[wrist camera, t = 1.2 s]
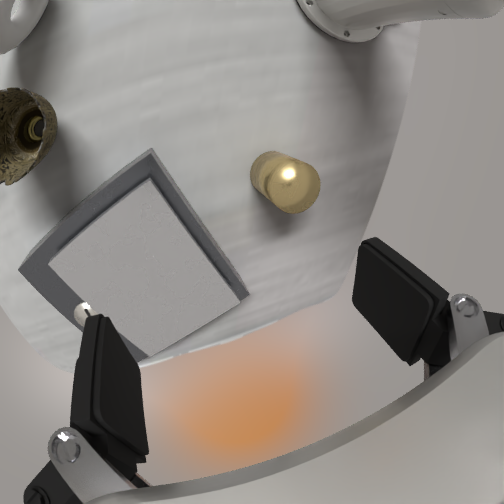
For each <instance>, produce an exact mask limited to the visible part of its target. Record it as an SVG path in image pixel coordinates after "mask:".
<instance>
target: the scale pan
mask: <svg viewBox="0 0 504 504" xmlns="http://www.w3.org/2000/svg"><path fill="white" fill-rule="evenodd" d="M48 265H49V266H50V267H51V268H52V269H53V270H54V271H55V272H56V273H57V274H58V276H59V277H60V278H61V279H62V280H63V281H64V282H65V283H66V284H67V285H68V286H69V287H70V288H71V289H72V290H73V291H74V292H75V293H76V294H77V295H78V296H79V297H80V298H81V299H82V300H83V301H85V302H86V303H87V304H88V305H89V306H90V307H91V308H92V309H93V310H94V311H95V312H96V313H98V314H103V315H104V317H109V318H110V320H111V321H112V323H113V325H114V327H115V328H116V330H117V331H118V332H119V333H121V334H122V335H123V336H124V337H125V338H127V339H128V340H129V341H130V342H132V343H133V344H134V345H135V346H137V347H138V348H139V349H141V350H142V351H143V352H144V353H146V354H147V355H148V356H150V357H151V356H153V355H154V354H156V353H158V352H160V351H161V350H163V349H165V348H167V347H168V346H170V345H172V344H173V343H175V342H177V341H178V340H180V339H182V338H183V337H185V336H187V335H189V334H190V333H192V332H194V331H195V330H197V329H199V328H200V327H202V326H203V325H205V324H207V323H208V322H210V321H212V320H213V319H215V318H217V317H218V316H220V315H221V314H223V313H225V312H226V311H228V310H230V309H231V308H233V307H234V306H236V305H238V304H239V303H241V302H240V300H239V297H238V296H237V295H236V293H235V292H234V291H233V289H232V288H231V287H230V285H229V284H228V283H227V282H226V280H225V279H224V278H223V276H222V275H221V274H220V272H219V271H218V270H217V268H216V267H215V266H214V265H213V263H212V262H211V261H210V259H209V258H208V257H207V255H206V254H205V253H204V251H203V250H202V249H201V247H200V246H199V244H198V243H197V242H196V240H195V239H194V238H193V236H192V235H191V234H190V232H189V231H188V230H187V228H186V227H185V225H184V224H183V223H182V221H181V220H180V219H179V217H178V216H177V214H176V213H175V212H174V210H173V209H172V207H171V206H170V205H169V203H168V202H167V200H166V199H165V198H164V196H163V195H162V193H161V192H160V191H159V189H158V188H157V186H156V185H155V183H154V182H153V181H152V179H151V178H148V179H147V180H145V181H144V182H143V183H141V184H140V185H138V186H137V187H136V188H134V189H133V190H132V191H130V192H129V193H128V194H126V195H125V196H124V197H122V198H121V199H120V200H118V201H117V202H116V203H115V204H113V205H112V206H111V207H109V208H108V209H107V210H106V211H104V212H103V213H102V214H101V215H100V216H98V217H97V218H96V219H95V220H94V221H92V222H91V223H90V224H89V225H88V226H86V227H85V228H84V229H83V230H82V231H81V232H79V233H78V234H77V235H76V236H75V237H74V238H73V239H71V240H70V241H69V242H68V243H67V244H66V245H65V246H64V247H63V248H62V249H61V250H59V251H58V252H57V253H56V254H55V255H54V256H53V257H52V258H51V259H50V261H49V263H48Z"/></svg>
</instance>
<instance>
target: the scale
mask: <svg viewBox="0 0 504 504" xmlns="http://www.w3.org/2000/svg"><path fill="white" fill-rule="evenodd" d="M148 178H151V179H152V181H153V182H154V183H155V185H156V186H157V188H158V189H159V191H160V192H161V193H162V195H163V196H164V198H165V199H166V200H167V202H168V203H169V205H170V206H171V207H172V209H173V210H174V212H175V213H176V214H177V216H178V217H179V219H180V220H181V221H182V223H183V224H184V225H185V227H186V228H187V230H188V231H189V232H190V234H191V235H192V236H193V238H194V239H195V240H196V242H197V243H198V244H199V246H200V247H201V249H202V250H203V251H204V253H205V254H206V255H207V257H208V258H209V259H210V261H211V262H212V263H213V265H214V266H215V267H216V268H217V270H218V271H219V272H220V274H221V275H222V276H223V278H224V279H225V280H226V282H227V283H228V284H229V285H230V287H231V288H232V289H233V291H234V292H235V293H236V295H237V296H238V297H239V300H242V299H244V298H245V297H247V296H248V295H250V294H249V292H248V291H247V289H246V287H245V285H244V283H243V281H242V279H241V277H240V275H239V274H238V273H237V271H236V270H235V268H234V267H233V265H232V264H231V263H230V261H229V260H228V258H227V257H226V256H225V254H224V253H223V251H222V250H221V248H220V247H219V246H218V244H217V243H216V241H215V240H214V238H213V237H212V236H211V234H210V233H209V231H208V230H207V228H206V227H205V226H204V224H203V223H202V221H201V220H200V218H199V217H198V215H197V214H196V212H195V211H194V210H193V208H192V207H191V205H190V204H189V202H188V201H187V199H186V198H185V196H184V195H183V193H182V192H181V191H180V189H179V188H178V186H177V185H176V183H175V182H174V180H173V179H172V177H171V176H170V174H169V173H168V171H167V170H166V168H165V167H164V165H163V164H162V162H161V161H160V159H159V158H158V156H157V155H156V153H155V152H154V150H153V149H152V148H150V149H149V150H147V151H146V152H145V153H143V154H142V155H140V156H139V157H137V158H136V159H135V160H133V161H132V162H131V163H129V164H128V165H127V166H125V167H124V168H123V169H121V170H120V171H119V172H117V173H116V174H115V175H113V176H112V177H111V178H110V179H108V180H107V181H106V182H105V183H103V184H102V185H101V186H100V187H98V188H97V189H96V190H95V191H94V192H92V193H91V194H90V195H89V196H88V197H86V198H85V199H84V200H83V201H82V202H81V203H79V204H78V205H77V206H76V207H75V208H74V209H73V210H72V211H71V212H69V213H68V214H67V215H66V216H65V217H64V218H63V219H62V220H61V221H60V222H59V223H58V224H57V225H56V226H55V227H53V228H52V229H51V230H50V231H49V232H48V233H47V234H46V235H45V236H44V237H43V238H42V239H41V240H40V242H39V243H38V244H37V245H36V246H35V247H34V248H33V249H32V250H31V251H30V252H29V254H28V255H27V257H26V258H25V260H24V261H23V263H22V264H21V266H20V267H19V269H18V270H19V272H20V273H21V274H22V275H23V276H24V277H25V278H26V279H27V280H28V281H29V282H30V283H31V285H32V286H33V287H34V288H35V289H36V290H37V291H38V292H39V293H40V294H41V295H42V296H43V297H44V298H45V299H46V300H47V301H48V302H49V303H51V304H52V305H53V306H54V307H55V308H56V309H57V310H58V311H59V312H60V313H61V314H62V315H63V316H65V317H66V318H67V319H68V320H69V321H70V322H71V323H72V324H74V325H75V326H76V327H77V328H78V329H79V330H81V331H82V332H83V330H84V325H85V320H86V318H87V317H89V316H93V315H97V314H98V313H96V312H95V311H94V310H93V309H92V308H91V307H90V306H89V305H88V304H87V303H86V302H85V301H83V300H82V299H81V298H80V297H79V296H78V295H77V294H76V293H75V292H74V291H73V290H72V289H71V288H70V287H69V286H68V285H67V284H66V283H65V282H64V281H63V280H62V279H61V278H60V277H59V276H58V274H57V273H56V272H55V271H54V270H53V269H52V268H51V267H50V266H49V265H48V263H49V261H50V259H51V258H52V257H53V256H54V255H55V254H56V253H57V252H58V251H59V250H61V249H62V248H63V247H64V246H65V245H66V244H67V243H68V242H69V241H70V240H71V239H73V238H74V237H75V236H76V235H77V234H78V233H79V232H81V231H82V230H83V229H84V228H85V227H86V226H88V225H89V224H90V223H91V222H92V221H94V220H95V219H96V218H97V217H98V216H100V215H101V214H102V213H103V212H104V211H106V210H107V209H108V208H109V207H111V206H112V205H113V204H115V203H116V202H117V201H118V200H120V199H121V198H122V197H124V196H125V195H126V194H128V193H129V192H130V191H132V190H133V189H134V188H136V187H137V186H138V185H140V184H141V183H143V182H144V181H145V180H147V179H148ZM117 332H118V331H117ZM118 334H119V335H120V337H121V339H122V340H123V342H124V344H125V345H126V347H127V348H128V350H129V352H130V353H131V355H132V356H133V358H134V359H135V361H136V363H137V362H139V361H141V360H142V359H144V358H146V357H148V355H147V354H146V353H144V352H143V351H142V350H141V349H139V348H138V347H137V346H135V345H134V344H133V343H132V342H130V341H129V340H128V339H127V338H125V337H124V336H123V335H122V334H121V333H119V332H118Z"/></svg>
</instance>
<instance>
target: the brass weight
mask: <svg viewBox="0 0 504 504" xmlns="http://www.w3.org/2000/svg"><path fill="white" fill-rule="evenodd" d="M250 178H251V182H252V184H253V186H254V187H255V188H256V189H257V190H258V191H259V192H260V193H261V194H263V195H264V196H265V197H266V198H268V199H269V200H270V201H271V202H272V203H274V204H275V205H276V206H277V207H278V208H279V209H281V210H282V211H284V212H286V213H291V214H295V213H300V212H303V211H305V210H307V209H308V208H309V207H310V206H312V204H313V203H314V202H315V201H316V199H317V197H318V195H319V191H320V178H319V175H318V173H317V171H316V170H315V169H314V168H313V167H312V166H311V165H309V164H307V163H305V162H302V161H300V160H297V159H295V158H292V157H290V156H287V155H285V154H282V153H279V152H276V151H270V152H266V153H263V154H262V155H260V156H259V157H258V158H257V159H256V160H255V161H254V163H253V165H252V167H251V171H250Z"/></svg>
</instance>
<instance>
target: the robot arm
mask: <svg viewBox="0 0 504 504" xmlns="http://www.w3.org/2000/svg"><path fill="white" fill-rule="evenodd" d="M297 1H298V3H299V5H300V7H301V9H302V10H303V11H304V13H305V14H306V15H307V17H308V18H309V19H310V20H311V21H312V22H313V23H314V24H315V25H316V26H318V27H319V28H320V29H321V30H322V31H324V32H326V33H327V34H329V35H330V36H332V37H335V38H337V39H339V40H342V41H346V42H354V43H357V42H365V41H368V40H371V39H373V38H375V37H376V36H377V35H378V34H379V33H380V32H381V30H382V29H383V27H384V26H385V25H391V24H397V23H405V22H413V21H423V20H436V19H469V18H470V19H483V18H488V17H492V16H494V15H496V14H497V13H498V12H500V10H501V9H502V8H503V7H504V0H297ZM448 296H449V293H448V292H447V291H446V290H444V289H443V288H442V287H441V286H440V285H438V284H437V283H436V282H435V281H433V280H432V279H431V278H430V277H428V276H427V275H426V274H425V273H423V272H422V271H421V270H420V269H418V268H417V267H416V266H415V265H413V264H412V263H411V262H409V261H408V260H407V259H405V258H404V257H403V256H402V255H400V254H399V253H398V252H396V251H395V250H393V249H392V248H391V247H390V246H388V245H387V244H385V243H384V242H383V241H381V240H380V239H378V238H377V237H374V238H370V239H367V240H364V241H362V243H361V246H359V249H358V257H357V266H356V274H355V282H354V289H353V295H352V302H353V304H354V306H355V307H356V309H357V310H358V311H359V312H360V313H361V314H362V315H363V316H364V318H365V319H366V320H367V321H368V322H369V323H370V324H371V325H372V326H373V328H374V329H375V330H376V331H377V332H378V333H379V334H380V336H381V337H382V338H383V339H384V340H385V341H386V342H387V344H388V345H389V346H390V347H391V348H392V349H393V351H394V352H395V353H396V354H397V355H398V356H399V358H400V359H401V360H403V361H406V362H407V363H408V364H409V366H411V365H413V364H414V363H416V362H417V361H419V360H420V358H422V359H423V360H424V382H422V383H421V384H420V385H418V386H417V387H415V388H414V389H412V390H411V391H409V392H408V393H406V394H405V395H403V396H402V397H400V398H398V399H397V400H395V401H394V402H392V403H390V404H389V405H387V406H385V407H384V408H382V409H380V410H379V411H377V412H375V413H374V414H372V415H370V416H368V417H366V418H364V419H363V420H361V421H359V422H357V423H355V424H353V425H351V426H349V427H347V428H345V429H343V430H341V431H339V432H337V433H335V434H333V435H331V436H329V437H327V438H324V439H322V440H320V441H317V442H315V443H313V444H310V445H308V446H306V447H303V448H301V449H298V450H296V451H293V452H290V453H288V454H285V455H282V456H279V457H277V458H274V459H271V460H268V461H265V462H262V463H258V464H255V465H252V466H249V467H245V468H242V469H238V470H235V471H231V472H226V473H223V474H218V475H214V476H209V477H204V478H200V479H195V480H190V481H185V482H179V483H173V484H166V485H158V486H152V485H151V484H150V483H148V482H147V481H146V480H145V479H144V478H143V477H141V476H140V475H139V474H138V473H137V465H136V463H146V457H145V455H148V454H149V448H148V442H147V434H146V427H145V419H144V410H143V399H142V388H141V374H140V369H139V366H138V364H137V363H136V361H135V359H134V358H133V356H132V355H131V353H130V352H129V350H128V348H127V347H126V345H125V344H124V342H123V340H122V339H121V337H120V335H119V334H118V332H117V330H116V328H115V327H114V325H113V323H112V321H111V320H110V318H109V317H104V315H103V314H97V315H93V316H89V317H87V318H86V320H85V325H84V330H83V336H82V342H81V348H80V354H79V358H78V359H77V361H76V366H75V374H74V382H73V392H72V402H71V416H70V427H63V428H60V429H58V430H57V431H55V432H54V433H53V435H52V436H51V437H50V440H49V442H48V454H49V457H50V459H51V460H50V461H49V462H48V463H47V464H46V466H45V467H44V468H43V469H42V470H41V472H39V474H38V475H37V476H36V477H35V478H34V479H33V480H32V482H31V483H30V484H29V485H28V486H27V488H26V490H25V492H24V504H504V314H499V313H493V312H487V311H483V310H482V307H481V305H480V303H479V302H478V301H477V300H476V299H475V298H473V297H472V296H470V295H467V294H456V295H454V296H453V297H452V299H451V301H450V302H449V301H448V300H447V298H448Z"/></svg>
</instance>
